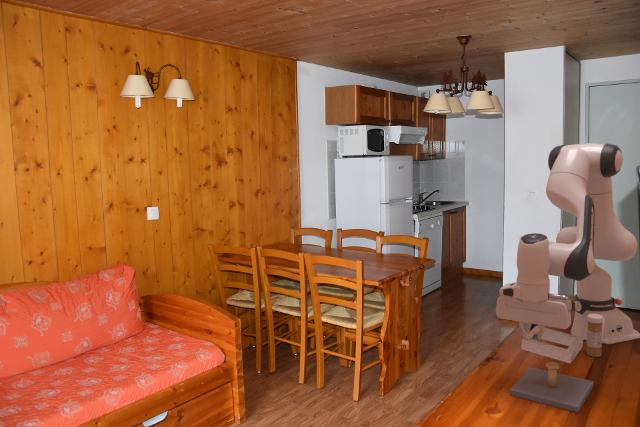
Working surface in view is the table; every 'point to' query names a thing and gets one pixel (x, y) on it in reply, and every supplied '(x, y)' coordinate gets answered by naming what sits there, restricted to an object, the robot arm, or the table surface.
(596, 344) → the sprinkles bottle
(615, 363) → the table surface
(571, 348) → the ring link
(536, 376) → the keeper board
